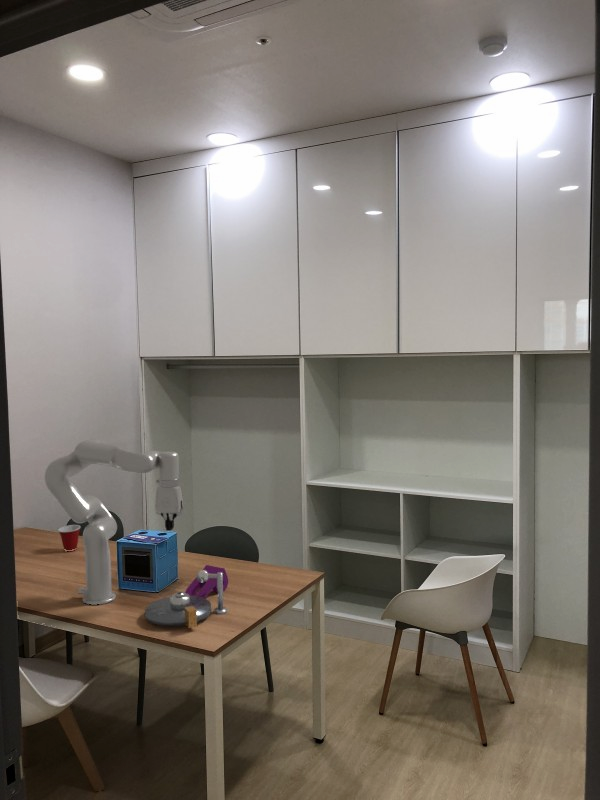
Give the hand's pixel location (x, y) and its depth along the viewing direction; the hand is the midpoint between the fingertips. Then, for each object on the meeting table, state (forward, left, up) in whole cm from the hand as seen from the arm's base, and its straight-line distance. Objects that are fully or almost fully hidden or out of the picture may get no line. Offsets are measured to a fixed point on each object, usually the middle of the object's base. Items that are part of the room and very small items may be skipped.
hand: (169, 529), depth 252 cm
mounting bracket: (+11, +9, -29) cm, 32 cm away
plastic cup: (-78, +56, -29) cm, 100 cm away
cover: (+10, -14, -25) cm, 30 cm away
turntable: (+10, -16, -27) cm, 33 cm away
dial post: (+20, -8, -28) cm, 36 cm away
